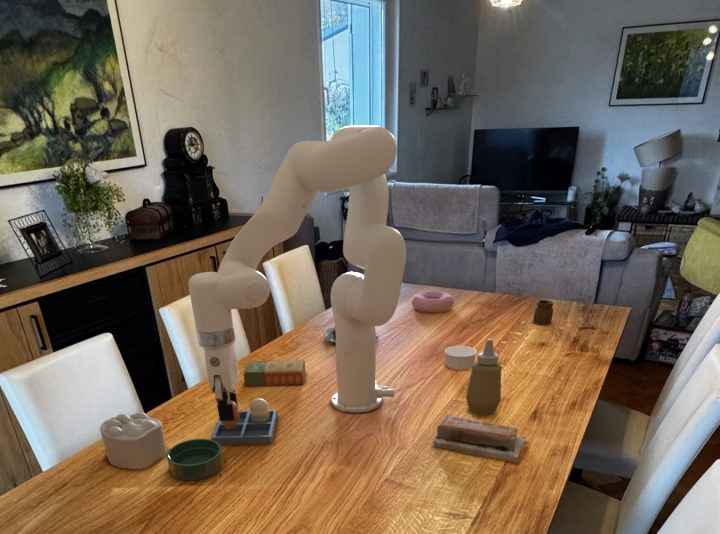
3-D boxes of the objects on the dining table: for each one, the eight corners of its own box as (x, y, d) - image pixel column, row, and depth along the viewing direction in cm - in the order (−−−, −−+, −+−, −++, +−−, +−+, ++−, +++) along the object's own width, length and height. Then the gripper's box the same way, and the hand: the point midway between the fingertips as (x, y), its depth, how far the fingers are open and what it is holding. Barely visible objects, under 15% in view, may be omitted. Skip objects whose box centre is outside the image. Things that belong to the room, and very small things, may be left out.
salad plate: (315, 330, 193) (314, 317, 191) (366, 325, 196) (366, 312, 194) (327, 350, 177) (326, 335, 175) (382, 344, 180) (382, 329, 178)
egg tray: (277, 417, 138) (276, 410, 137) (271, 444, 127) (270, 436, 126) (222, 418, 139) (221, 411, 138) (212, 445, 127) (210, 438, 126)
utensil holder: (553, 325, 191) (559, 288, 184) (534, 325, 191) (540, 289, 184) (548, 319, 196) (554, 284, 189) (529, 320, 196) (534, 284, 190)
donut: (410, 314, 206) (410, 300, 203) (412, 302, 219) (412, 289, 216) (454, 315, 203) (455, 301, 201) (453, 303, 216) (454, 289, 214)
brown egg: (242, 420, 131) (238, 396, 127) (239, 430, 127) (235, 404, 124) (223, 421, 131) (218, 397, 127) (219, 430, 127) (215, 405, 124)
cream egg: (271, 418, 137) (268, 394, 134) (269, 427, 133) (266, 402, 130) (253, 419, 137) (250, 395, 134) (250, 427, 133) (247, 403, 130)
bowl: (227, 454, 124) (225, 438, 122) (218, 481, 114) (215, 464, 112) (177, 455, 124) (174, 439, 122) (164, 483, 115) (160, 466, 113)
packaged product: (432, 427, 121) (446, 408, 129) (431, 447, 124) (445, 427, 131) (519, 443, 114) (528, 422, 122) (516, 464, 117) (525, 442, 124)
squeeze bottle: (502, 407, 139) (511, 335, 130) (495, 421, 133) (504, 347, 124) (469, 402, 142) (476, 332, 133) (460, 415, 136) (467, 343, 127)
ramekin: (440, 369, 161) (441, 354, 159) (447, 358, 168) (448, 344, 166) (472, 372, 158) (473, 357, 156) (477, 361, 165) (479, 347, 163)
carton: (303, 385, 154) (302, 370, 152) (244, 386, 155) (242, 371, 153) (305, 373, 162) (304, 358, 159) (249, 374, 162) (247, 360, 160)
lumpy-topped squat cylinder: (139, 473, 118) (130, 436, 114) (95, 459, 124) (84, 424, 119) (173, 450, 126) (166, 415, 121) (130, 438, 131) (121, 404, 127)
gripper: (227, 349, 110) (240, 432, 120) (240, 321, 125) (250, 397, 134) (189, 351, 111) (204, 433, 120) (206, 323, 125) (219, 399, 135)
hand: (229, 414), depth 127 cm, fingers closed on brown egg, 4 cm apart
